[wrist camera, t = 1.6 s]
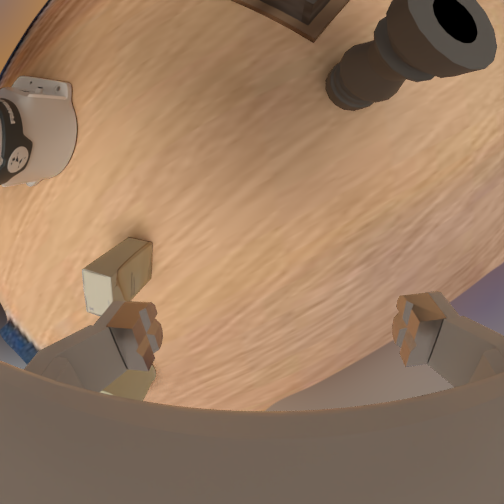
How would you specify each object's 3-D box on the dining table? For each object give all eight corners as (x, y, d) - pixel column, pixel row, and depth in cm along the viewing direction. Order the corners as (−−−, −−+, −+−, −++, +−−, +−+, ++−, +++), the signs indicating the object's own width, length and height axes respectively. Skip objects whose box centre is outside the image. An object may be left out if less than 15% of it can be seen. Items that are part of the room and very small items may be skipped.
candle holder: (330, 59, 29) (403, -47, 6) (376, 75, 29) (498, 9, 6) (320, 102, 32) (395, 37, 9) (367, 117, 32) (497, 96, 9)
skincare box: (151, 278, 43) (115, 323, 32) (126, 272, 43) (86, 313, 32) (153, 240, 41) (111, 277, 29) (126, 235, 41) (80, 269, 30)
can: (106, 355, 51) (79, 395, 40) (133, 342, 49) (105, 387, 38) (136, 386, 54) (114, 428, 42) (165, 376, 51) (144, 423, 40)
